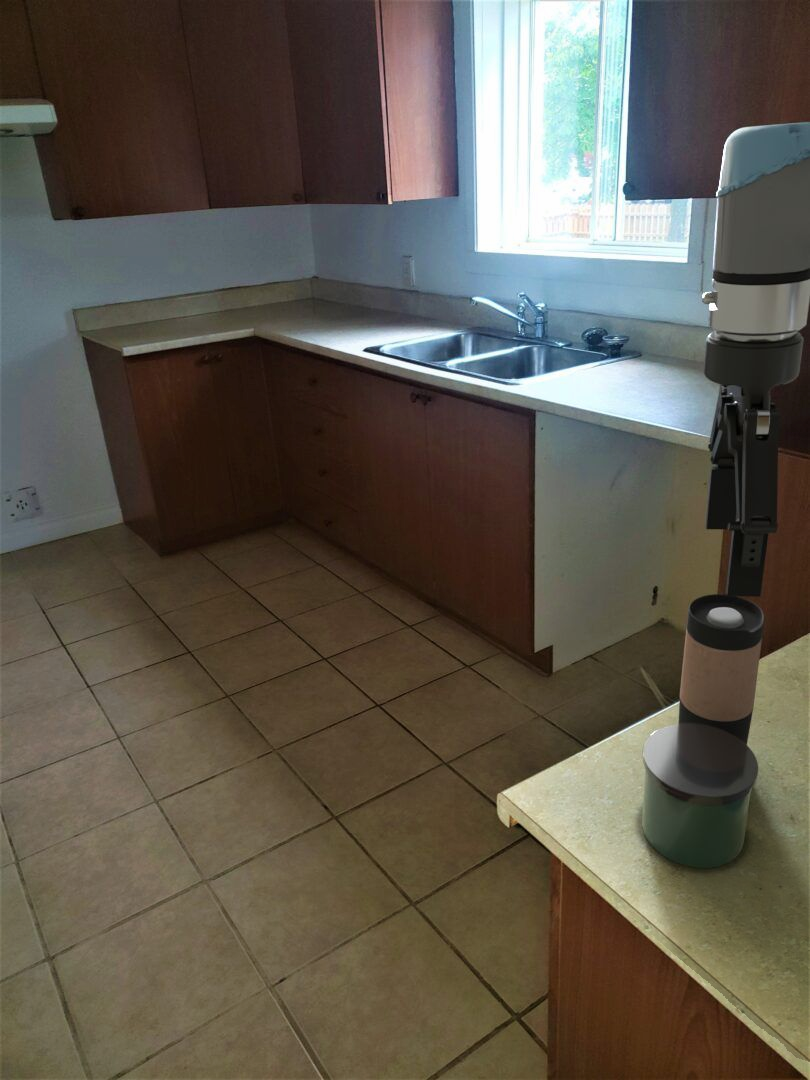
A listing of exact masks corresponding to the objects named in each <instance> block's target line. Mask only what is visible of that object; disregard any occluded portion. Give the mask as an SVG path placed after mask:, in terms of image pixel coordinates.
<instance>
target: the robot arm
mask: <svg viewBox="0 0 810 1080" xmlns="http://www.w3.org/2000/svg"><path fill="white" fill-rule="evenodd" d="M715 194H716V195H715V199H716V210H715V211H716V212H715V226H714V227H715V228H714V244H713V259H712V269H711V287H712V291H707V292H704V293H703V294H702V300H701V301H702V303H703V304H705V305H709V308H708V309H709V310H708V320H707V325H708V327H709V328H710V329H711V330H713V331H711V332H710V333H709V334H708V335H707V336H706V339H705V350H704V360H703V361H704V362H703V375H704V376H705V378H706V379H708V380H709V381H711V382H712V383H715V384H719V388H718V389H719V390H718V395H717V401H716V406H715V411H714V417H713V422H712V427H711V432H710V435H709V441H708V442H709V443H708V444H707V449H708V452H709V453H710V456H709V461H710V463H711V465H714V466H710V470H709V481H708V482H709V483H708V493H707V503H706V504H707V505H706V514H705V515H706V516H705V525H704V526H705V530H725V531H729V532H732V533H731V539H730V549H729V559H728V566H727V567H728V569H727V577H726V586H725V593H726V595H727V596H737V597H754V598H757V597H758V598H760V597H761V596H762V587H763V580H764V573H765V565H766V557H767V549H768V541H769V534H776V533H777V531H778V528H779V523H778V483H779V479H778V478H779V434H780V433H779V432H780V425H781V420H782V413H781V410H780V408H776V403H775V402H771V390H772V389H773V388H775V387H777V386H784V385H787V384H790V383H791V382H794V381H795V380H796V379H797V377H799V375H800V370H801V362H802V356H803V355H802V354H803V347H804V340H805V339H804V337H803V336H802V334H801V333H800V332H799V331H800V330H802V329H803V328H805V327H806V326H807V323H808V315H809V307H810V121H805V122H792V123H779V124H766V125H754V126H745V127H740V128H738V129H736V130H734V131H733V132H732V133H731V134H730V135H729V136H728V137H727V139H726V141H725V144H724V148H723V155H722V162H721V169H720V176H719V185H718V190H717V191H716V193H715ZM733 465H734V466H733Z"/></svg>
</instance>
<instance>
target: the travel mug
mask: <svg viewBox="0 0 810 1080" xmlns="http://www.w3.org/2000/svg"><path fill="white" fill-rule="evenodd" d="M764 625H765V614H764V611H763V610H762V608H761V607H760V606H759V605H758V604H756V603H755V602H753V601H751V600H749V599H747V598H744V597H742V596H727V593H726V594H724V593H713V594H706V595H702V596H699V597H697V598H695V599H693V600H692V601H691V603H690V604H689V606H688V609H687V618H686V627H685V628H686V629H685V640H684V648H683V659H682V669H681V679H680V687H679V689H680V690H679V702H678V705H679V706H678V722H677V724H680V723H695V724H703V725H708V726H712V727H716V728H719V729H721V730H724V731H726V732H728V733H730V734H732V735H734V736H736V737H737V738H739V739H740V740H741V741H743V742H744V743H745V744H746V745H747V746H748V740H749V735H750V730H751V724H752V719H753V713H754V705H755V699H756V690H757V682H758V675H759V674H758V673H759V667H760V658H761V648H762V641H763V634H764V633H763V632H764Z"/></svg>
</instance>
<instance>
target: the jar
mask: <svg viewBox="0 0 810 1080" xmlns="http://www.w3.org/2000/svg"><path fill="white" fill-rule="evenodd" d="M641 755H642V757H641V758H642V763H643V766H644V771H645V772H644V787H643V789H644V790H643V801H642V802H643V804H642V819H641V827H642V831H643V834H644V836H645V838H646V840H647V841H648V843H649V844H650V845H651V846H652V848H654V850H655V851H657V852H658V853H659V854H660V855H662V856H663V857H665V858H666V859H669V860H670V861H673V862H674V863H677V864H679V865H683V866H687V867H690V868H691V867H692V868H698V869H699V868H700V869H711V868H718V867H721V866H724V865H727V864H729V863H731V862H732V861H734V860H735V859H736V858H737V857H738V856H739V854H740V853H741V852H742V850H743V848H744V844H745V836H746V829H747V822H748V815H749V809H750V800H751V793H752V790H753V787H754V786H755V784H756V782H757V780H758V776H759V762H758V760H757V757H756V754H754V752H753V750H752V749H751V748H750V747H749V746H748V744H747V745H746V744H745V743H744V742H743V741H741V740H740V739H739V738H737V737H736V736H734V735H732V734H730V733H728V732H726V731H724V730H721V729H719V728H716V727H712V726H708V725H703V724H695V723H680V724H678V723H674V724H670V725H666V726H663V727H661V728H659V729H657V730H655V731H654V732H652V733H651V734H650V735H649V736H648V737H647V739H646V740H645V742H644V744H643V747H642V754H641Z"/></svg>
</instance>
